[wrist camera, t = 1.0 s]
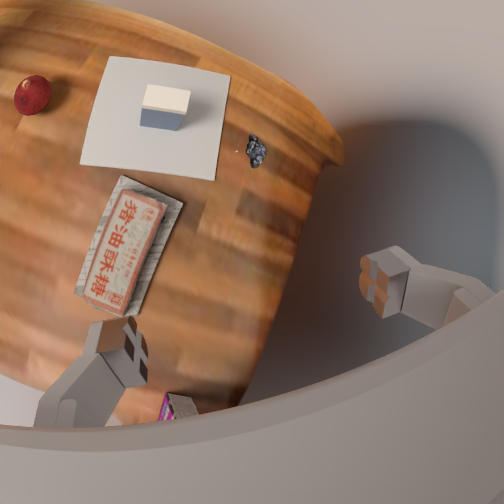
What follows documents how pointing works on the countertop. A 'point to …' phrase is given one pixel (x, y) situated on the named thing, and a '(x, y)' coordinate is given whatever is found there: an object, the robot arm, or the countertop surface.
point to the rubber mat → (153, 139)
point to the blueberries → (255, 151)
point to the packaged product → (126, 248)
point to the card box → (164, 107)
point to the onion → (32, 95)
